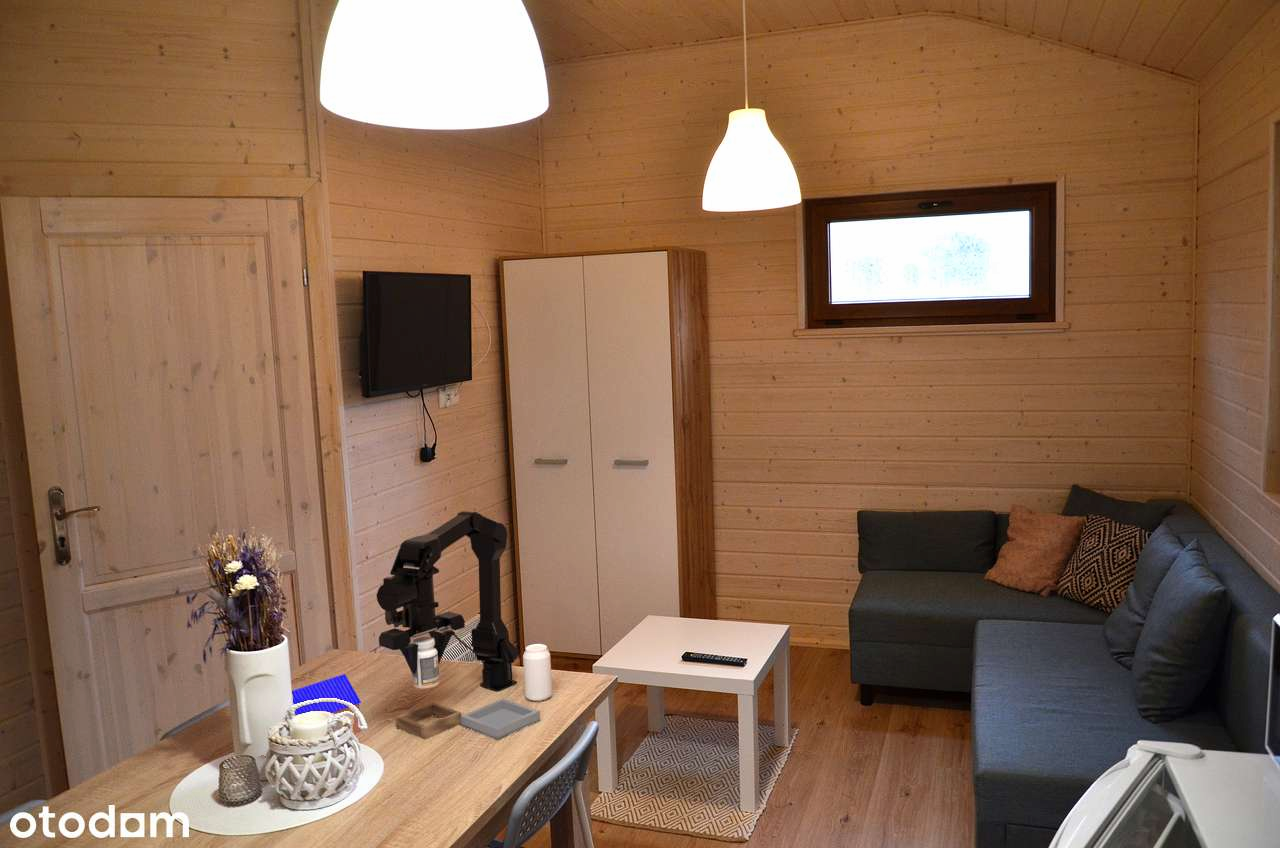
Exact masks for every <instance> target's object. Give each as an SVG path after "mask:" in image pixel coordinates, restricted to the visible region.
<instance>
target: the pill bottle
mask: <svg viewBox="0 0 1280 848" xmlns="http://www.w3.org/2000/svg"><path fill="white" fill-rule="evenodd" d="M413 640H414V644H417V645H418V657H417V670H416V673H415V674H414V673H412V672H411V674H412V676H411V677H412V686H413V687H414V688H416V689H421V690H424V689H432V688H434V687H436V686H438V685H439V684H440V669H439V667H440V666H439V665H438V652H437V650H436V649H435V648H434V645H435V640H434V638H432V637H431V636H423V637H418V638H417V637H416V638H415V639H413Z"/></svg>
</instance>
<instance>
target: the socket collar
mask: <svg viewBox="0 0 1280 848" xmlns="http://www.w3.org/2000/svg"><path fill="white" fill-rule="evenodd" d="M432 715H433V717H435V716H436V717H435V718H439V719H437V720H434V721H432V722H429V723H427V724H422V723H420V721H419V720H421V721H423V720H425V719H428V718H430V717H432ZM462 715H463V714H462V712H461V711H458V710H455V709H453V708H449V707H447V706H444V705H441V704H439V703H436V702H430V703H428V704H425V705H423V706H420V707H418V708H415V709H412V710H409V711H407V712H405V713H402V714H399V715H397V716H395V717H394V718H395V719H394V720H395V728H396V727H397V728H399V729H401V730H400V731H402V730H404V731H406V732H405V733H407V732H408V733H407V734H409V733H411V734H410V735H412V734H413V736H414V735H415V736H414V737H417V736H418V737H417V738H419V737H420V738H419V739H421V738H422V739H421V740H424V741H425V740H427V739H429V738H432V737H434V736H436V735H439V734H441V733H443V731H444V732H446V731H448V730H451V729H453V728H456V727H458V726H460V725H461V716H462ZM427 717H428V718H427ZM424 718H425V719H424ZM440 718H442V719H440ZM422 719H423V720H422ZM417 721H418V722H417ZM457 725H458V726H457ZM455 726H456V727H455ZM452 727H453V728H452ZM397 728H396V729H397ZM450 728H451V729H450ZM399 729H398V730H399ZM447 729H448V730H447ZM445 730H446V731H445ZM404 731H403V732H404Z"/></svg>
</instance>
